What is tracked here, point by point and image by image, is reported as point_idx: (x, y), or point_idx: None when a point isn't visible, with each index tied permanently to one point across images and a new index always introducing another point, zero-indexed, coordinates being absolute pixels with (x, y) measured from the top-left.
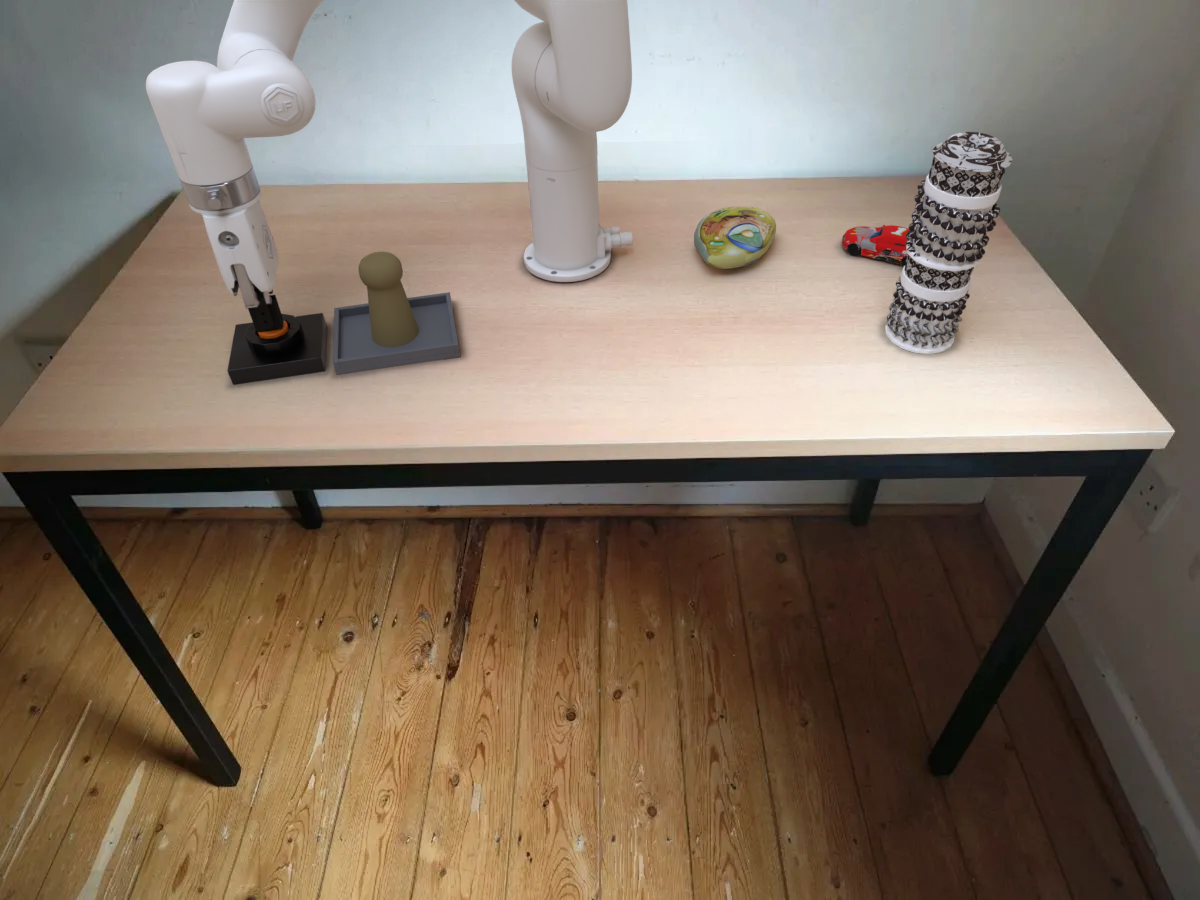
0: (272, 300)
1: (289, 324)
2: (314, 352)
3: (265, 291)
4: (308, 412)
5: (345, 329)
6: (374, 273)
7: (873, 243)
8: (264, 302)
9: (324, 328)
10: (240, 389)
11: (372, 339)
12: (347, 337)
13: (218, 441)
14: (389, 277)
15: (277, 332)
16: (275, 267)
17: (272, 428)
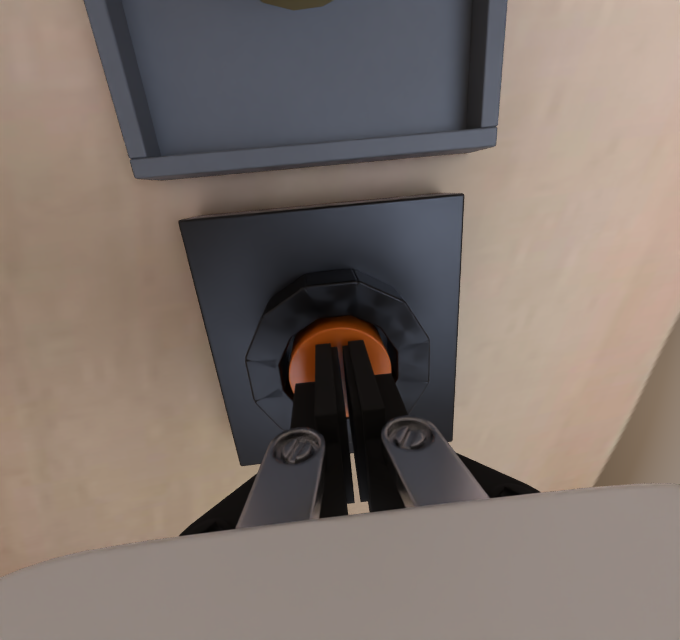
0: (371, 417)
1: (312, 321)
2: (430, 219)
3: (483, 495)
4: (608, 220)
5: (245, 134)
6: None
7: None
8: (460, 457)
9: (245, 212)
10: (456, 395)
11: (327, 2)
12: (297, 121)
13: (619, 400)
14: None
15: (380, 352)
16: (388, 569)
17: (630, 301)
